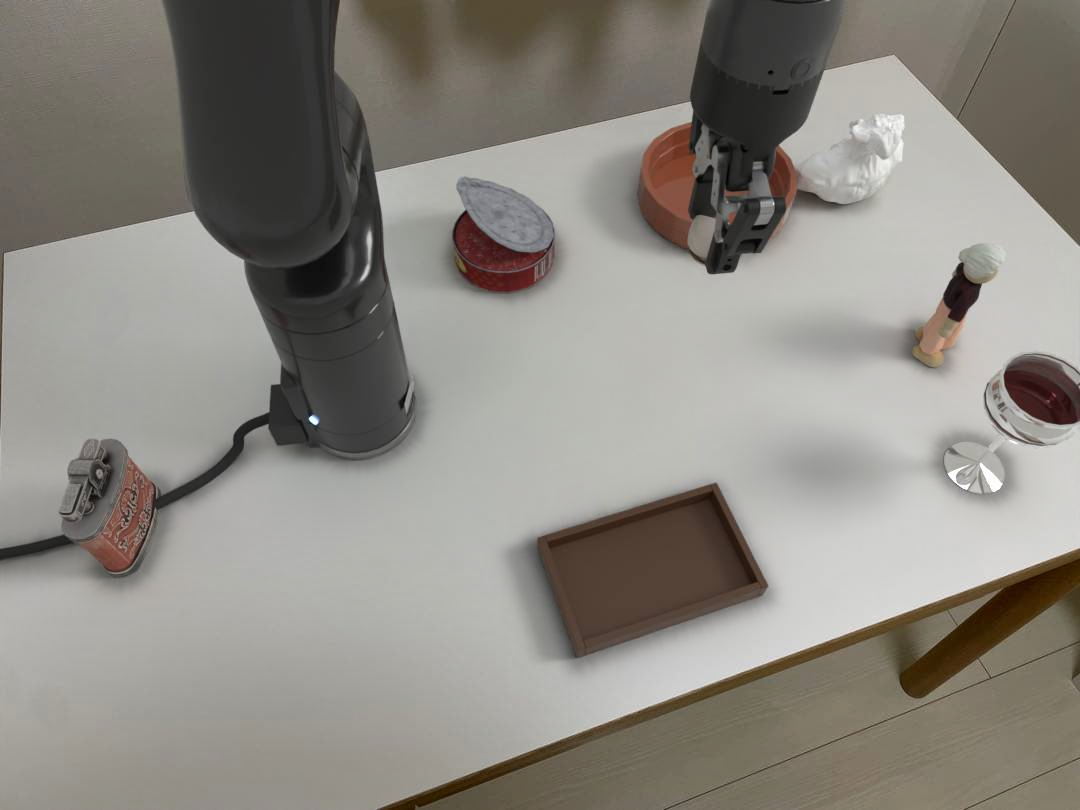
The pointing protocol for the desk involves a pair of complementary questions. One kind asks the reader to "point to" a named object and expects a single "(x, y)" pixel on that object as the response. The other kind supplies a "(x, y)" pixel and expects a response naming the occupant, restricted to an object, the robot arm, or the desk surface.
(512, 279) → the canned food
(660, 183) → the bowl
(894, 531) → the desk surface
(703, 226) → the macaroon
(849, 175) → the bust
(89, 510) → the lighter
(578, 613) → the tray
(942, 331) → the grandmother figurine
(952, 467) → the wineglass
